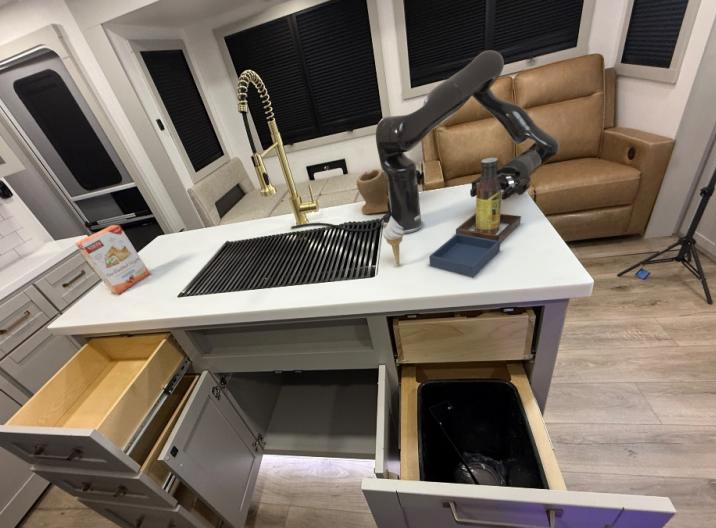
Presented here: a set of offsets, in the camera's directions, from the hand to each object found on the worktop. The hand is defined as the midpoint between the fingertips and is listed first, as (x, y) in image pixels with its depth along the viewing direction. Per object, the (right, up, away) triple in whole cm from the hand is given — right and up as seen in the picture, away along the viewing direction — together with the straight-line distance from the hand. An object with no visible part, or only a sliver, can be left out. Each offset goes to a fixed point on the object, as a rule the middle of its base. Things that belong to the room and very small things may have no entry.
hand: (486, 195), depth 91 cm
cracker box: (-118, -22, +38) cm, 126 cm away
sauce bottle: (+3, -8, +7) cm, 11 cm away
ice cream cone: (-23, -19, +3) cm, 30 cm away
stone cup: (-23, +5, +36) cm, 44 cm away
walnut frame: (+3, -8, +7) cm, 11 cm away
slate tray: (-7, -17, -2) cm, 19 cm away
